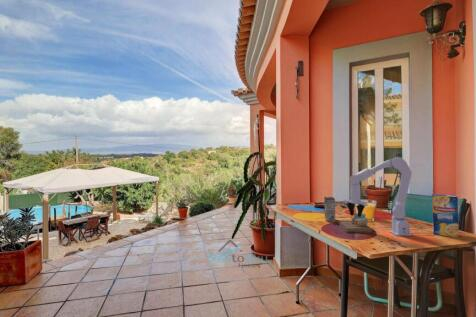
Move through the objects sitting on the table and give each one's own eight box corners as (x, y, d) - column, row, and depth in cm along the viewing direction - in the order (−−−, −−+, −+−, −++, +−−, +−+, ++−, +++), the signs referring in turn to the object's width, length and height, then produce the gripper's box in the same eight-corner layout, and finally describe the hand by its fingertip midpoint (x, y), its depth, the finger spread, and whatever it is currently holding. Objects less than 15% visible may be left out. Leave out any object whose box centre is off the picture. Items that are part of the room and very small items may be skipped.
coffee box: (324, 218, 188) (324, 196, 188) (333, 218, 186) (333, 196, 187) (326, 221, 179) (325, 198, 179) (335, 221, 178) (335, 198, 178)
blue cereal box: (458, 237, 137) (457, 196, 137) (433, 234, 144) (432, 195, 144) (457, 234, 143) (456, 195, 143) (432, 231, 149) (431, 194, 149)
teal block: (365, 218, 158) (365, 214, 158) (359, 218, 157) (359, 214, 157) (360, 216, 162) (360, 212, 162) (354, 217, 160) (354, 213, 161)
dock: (371, 232, 149) (371, 228, 149) (346, 232, 151) (346, 228, 151) (360, 224, 168) (360, 220, 168) (338, 224, 170) (338, 220, 170)
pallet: (367, 224, 158) (367, 217, 158) (358, 225, 155) (357, 219, 155) (360, 222, 163) (360, 216, 163) (351, 224, 160) (351, 217, 160)
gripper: (370, 194, 154) (370, 217, 154) (349, 192, 167) (350, 213, 167) (362, 195, 151) (363, 218, 151) (342, 193, 164) (342, 214, 163)
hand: (355, 215), depth 159 cm, fingers open, 5 cm apart
